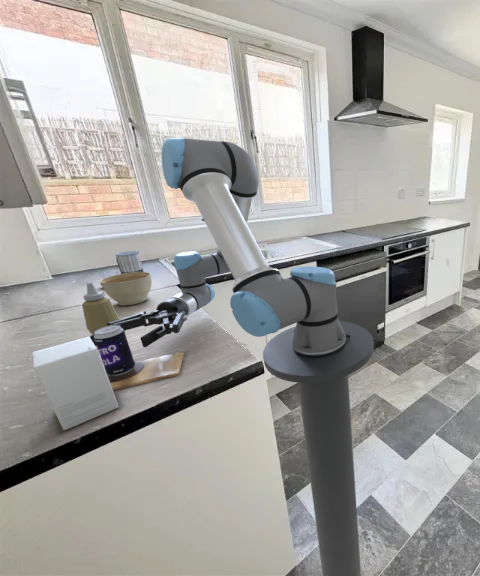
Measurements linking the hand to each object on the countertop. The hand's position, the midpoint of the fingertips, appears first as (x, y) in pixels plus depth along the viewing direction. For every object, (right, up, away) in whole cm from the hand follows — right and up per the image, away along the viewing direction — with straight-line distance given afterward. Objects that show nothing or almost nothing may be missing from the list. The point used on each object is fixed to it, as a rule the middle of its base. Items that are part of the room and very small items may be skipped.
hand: (117, 341), depth 78 cm
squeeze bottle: (-23, -2, +23) cm, 33 cm away
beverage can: (0, -8, +2) cm, 8 cm away
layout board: (+3, -9, +2) cm, 9 cm away
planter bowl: (-37, +8, +51) cm, 64 cm away
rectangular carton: (+3, -13, -10) cm, 17 cm away
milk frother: (-60, +15, +74) cm, 97 cm away
